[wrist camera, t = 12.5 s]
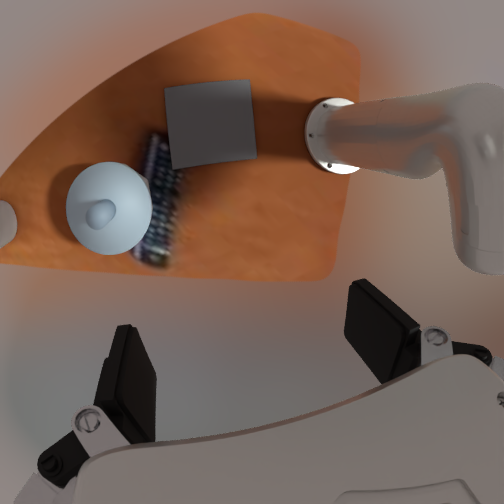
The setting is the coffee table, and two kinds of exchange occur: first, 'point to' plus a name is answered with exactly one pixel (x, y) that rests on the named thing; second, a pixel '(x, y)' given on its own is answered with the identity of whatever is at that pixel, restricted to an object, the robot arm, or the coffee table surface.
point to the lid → (109, 208)
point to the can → (7, 223)
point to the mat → (210, 123)
